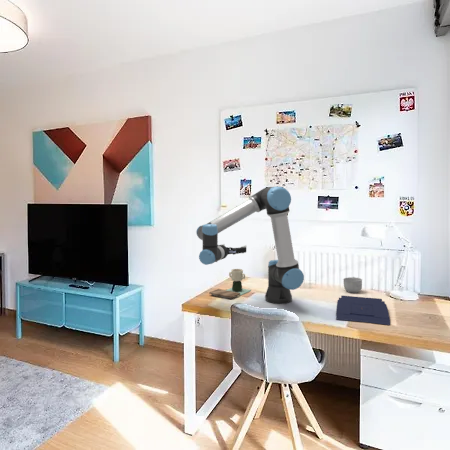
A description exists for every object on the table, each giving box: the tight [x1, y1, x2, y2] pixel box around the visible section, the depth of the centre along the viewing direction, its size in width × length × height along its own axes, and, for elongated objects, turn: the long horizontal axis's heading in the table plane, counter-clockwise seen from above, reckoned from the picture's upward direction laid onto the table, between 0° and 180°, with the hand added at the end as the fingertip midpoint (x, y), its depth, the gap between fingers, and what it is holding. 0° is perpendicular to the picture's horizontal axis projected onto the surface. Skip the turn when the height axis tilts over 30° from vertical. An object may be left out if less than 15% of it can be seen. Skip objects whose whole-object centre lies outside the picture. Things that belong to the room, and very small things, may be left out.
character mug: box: [228, 268, 246, 291], centre depth 225 cm, size 11×7×13 cm, turn 61°
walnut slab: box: [209, 288, 241, 300], centre depth 216 cm, size 16×9×2 cm, turn 55°
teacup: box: [342, 276, 363, 294], centre depth 225 cm, size 14×11×8 cm
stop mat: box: [225, 287, 252, 296], centre depth 225 cm, size 13×12×1 cm
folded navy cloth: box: [335, 294, 391, 326], centre depth 185 cm, size 24×30×4 cm
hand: (234, 246), depth 209 cm, fingers open, 13 cm apart
